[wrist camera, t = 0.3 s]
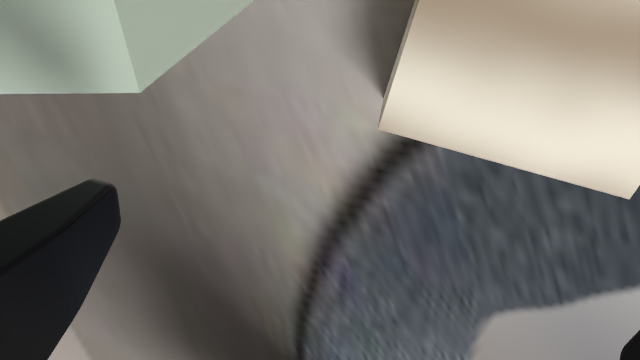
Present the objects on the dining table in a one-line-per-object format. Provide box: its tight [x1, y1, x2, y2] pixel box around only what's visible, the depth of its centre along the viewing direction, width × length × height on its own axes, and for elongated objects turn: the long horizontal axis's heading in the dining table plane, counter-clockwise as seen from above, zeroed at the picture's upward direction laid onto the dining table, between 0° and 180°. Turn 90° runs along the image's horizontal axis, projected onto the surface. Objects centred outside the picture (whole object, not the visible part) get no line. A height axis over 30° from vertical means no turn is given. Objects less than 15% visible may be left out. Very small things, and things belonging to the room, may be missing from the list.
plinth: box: [378, 0, 640, 199], centre depth 18 cm, size 10×10×3 cm
